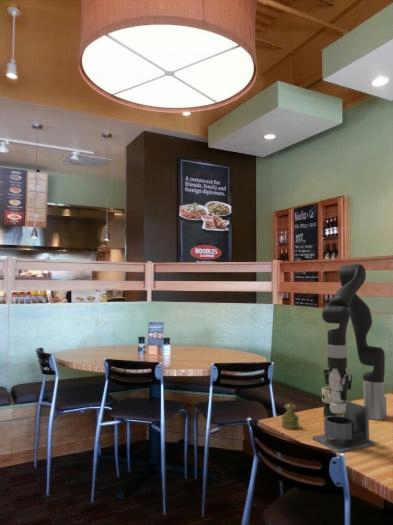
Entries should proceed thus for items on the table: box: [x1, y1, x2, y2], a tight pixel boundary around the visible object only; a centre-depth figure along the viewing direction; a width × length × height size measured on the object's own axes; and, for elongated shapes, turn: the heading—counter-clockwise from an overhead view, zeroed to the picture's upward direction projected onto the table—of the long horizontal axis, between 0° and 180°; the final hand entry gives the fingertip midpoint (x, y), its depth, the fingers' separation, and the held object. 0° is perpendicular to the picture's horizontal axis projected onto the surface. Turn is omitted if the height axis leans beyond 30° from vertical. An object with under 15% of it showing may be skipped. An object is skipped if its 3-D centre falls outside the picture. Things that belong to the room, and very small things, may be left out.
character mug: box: [321, 386, 338, 417], centre depth 199 cm, size 11×7×13 cm, turn 163°
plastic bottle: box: [328, 369, 347, 416], centre depth 166 cm, size 6×7×20 cm
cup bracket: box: [312, 399, 376, 453], centre depth 166 cm, size 18×15×14 cm
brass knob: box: [281, 403, 300, 430], centre depth 185 cm, size 7×8×10 cm
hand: (338, 398), depth 166 cm, fingers closed on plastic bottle, 5 cm apart
